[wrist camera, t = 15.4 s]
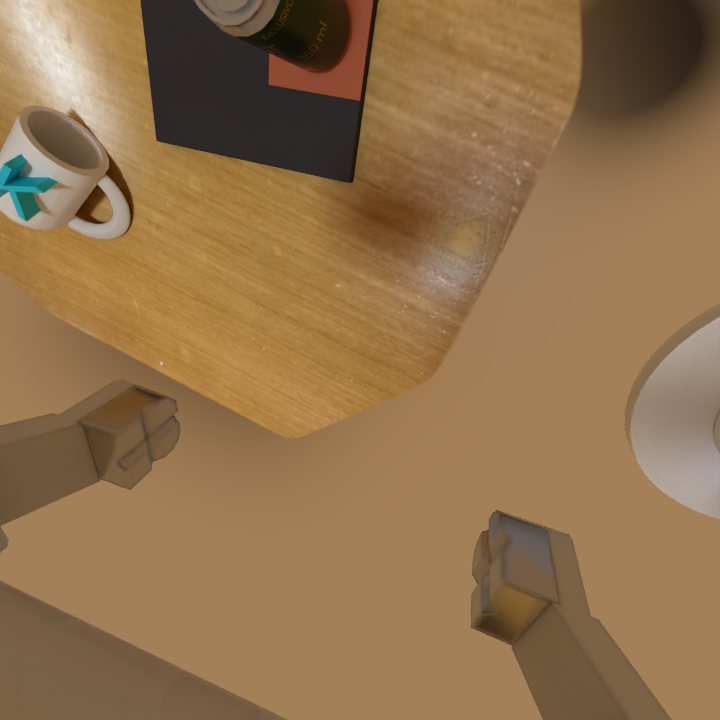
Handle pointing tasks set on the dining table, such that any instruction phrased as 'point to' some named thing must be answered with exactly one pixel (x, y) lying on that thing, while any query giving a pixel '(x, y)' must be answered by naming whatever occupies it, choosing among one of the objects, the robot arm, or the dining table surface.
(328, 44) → the beer can
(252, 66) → the mat
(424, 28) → the dining table surface
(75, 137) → the mug
